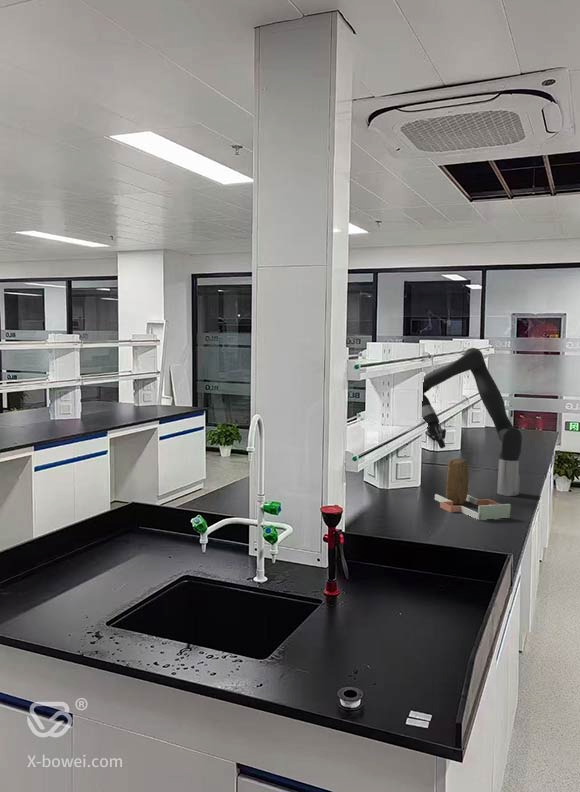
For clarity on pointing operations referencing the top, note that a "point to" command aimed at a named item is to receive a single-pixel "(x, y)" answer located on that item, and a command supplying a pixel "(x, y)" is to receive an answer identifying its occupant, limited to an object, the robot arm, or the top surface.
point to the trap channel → (485, 508)
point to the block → (457, 481)
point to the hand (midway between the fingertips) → (443, 447)
